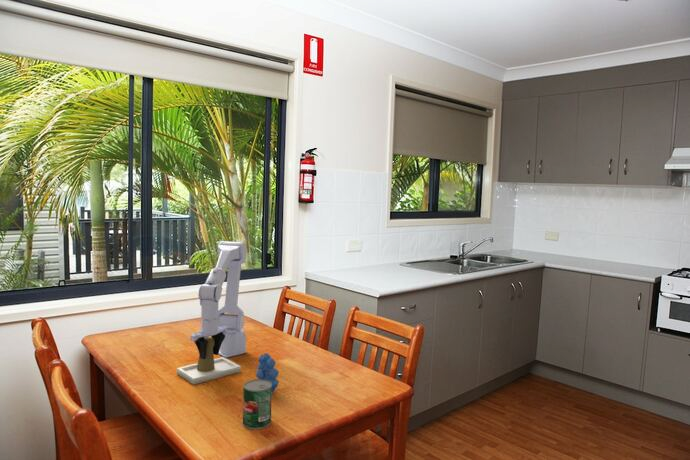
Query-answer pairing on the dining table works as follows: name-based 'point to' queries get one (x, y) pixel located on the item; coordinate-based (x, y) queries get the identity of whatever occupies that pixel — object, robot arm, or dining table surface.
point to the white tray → (220, 370)
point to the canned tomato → (257, 404)
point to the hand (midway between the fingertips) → (209, 356)
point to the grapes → (267, 370)
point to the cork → (207, 357)
